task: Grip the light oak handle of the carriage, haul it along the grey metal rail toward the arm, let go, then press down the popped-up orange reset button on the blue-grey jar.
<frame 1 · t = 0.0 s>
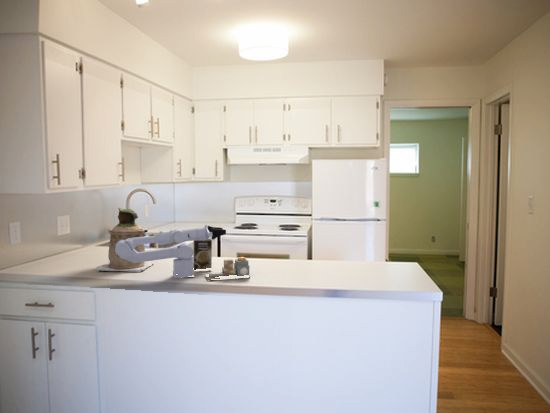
hand: (224, 230, 203), 22 cm above the countertop, tool horizontal, fingers open, 7 cm apart
blue-grey jar: (241, 276, 199), resting on rail board
cookie jar: (127, 267, 217), on the countertop
rail: (222, 277, 196), resting on rail board
carriage: (228, 266, 196), point 5 cm above the countertop, slide at 0.0 cm
coffee box: (202, 270, 212), on the countertop
rail board: (227, 277, 198), on the countertop
reset button: (241, 259, 198), point 8 cm above the countertop, slide at 0.0 cm
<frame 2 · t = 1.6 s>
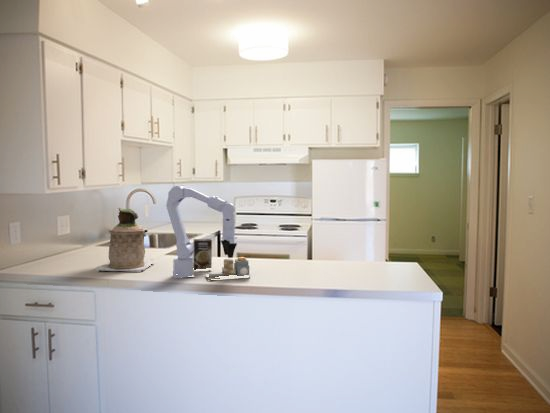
hand: (228, 256, 196), 10 cm above the countertop, tool pointing down, fingers open, 7 cm apart
nothing on the countertop moved.
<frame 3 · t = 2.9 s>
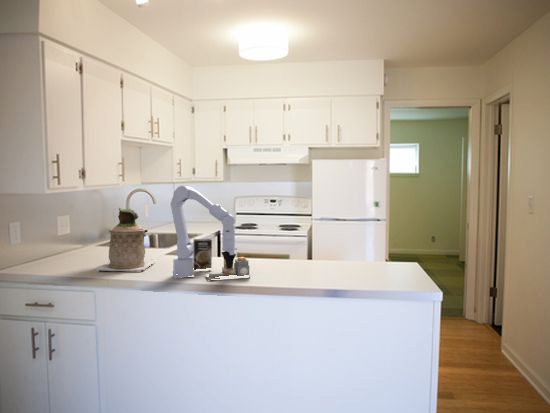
hand: (228, 267, 196), 5 cm above the countertop, tool pointing down, fingers closed on carriage, 3 cm apart
carriage: (228, 266, 196), point 5 cm above the countertop, slide at 0.0 cm, touching gripper
everything else where it was.
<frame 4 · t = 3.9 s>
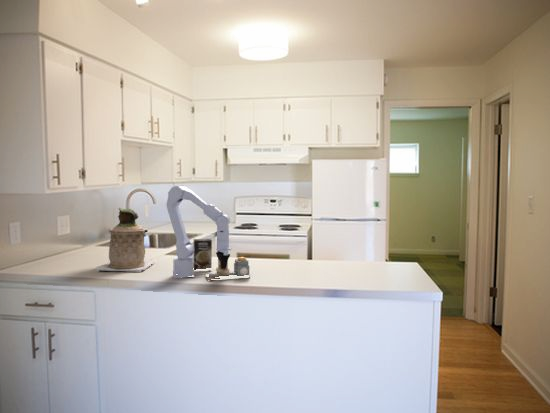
hand: (222, 267, 196), 5 cm above the countertop, tool pointing down, fingers closed on carriage, 3 cm apart
carriage: (222, 266, 196), point 5 cm above the countertop, slide at 2.8 cm, touching gripper
everything else where it was.
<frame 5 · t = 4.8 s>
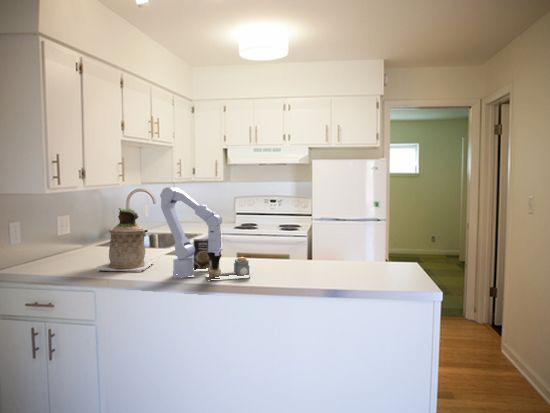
hand: (214, 268, 194), 5 cm above the countertop, tool pointing down, fingers closed on carriage, 3 cm apart
carriage: (214, 267, 194), point 5 cm above the countertop, slide at 6.8 cm, touching gripper
everything else where it was.
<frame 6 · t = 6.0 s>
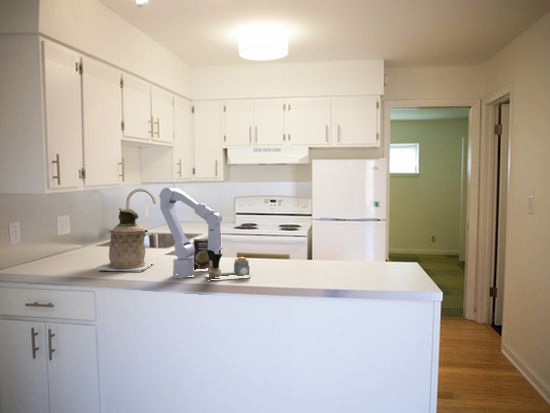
hand: (214, 266, 194), 6 cm above the countertop, tool pointing down, fingers open, 7 cm apart
carriage: (214, 267, 194), point 5 cm above the countertop, slide at 6.9 cm
everything else where it was.
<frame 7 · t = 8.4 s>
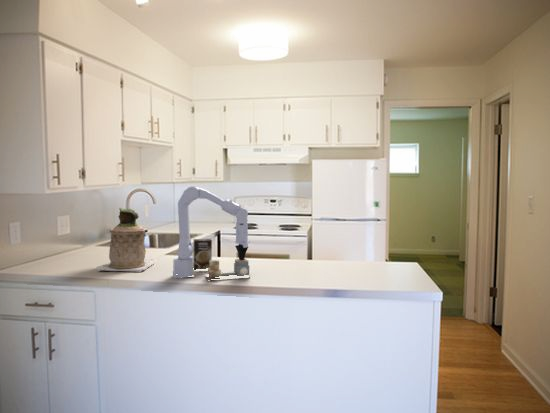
hand: (241, 260, 198), 8 cm above the countertop, tool pointing down, fingers closed, pressing on reset button
reset button: (241, 261, 198), point 7 cm above the countertop, slide at 1.1 cm, touching gripper
everything else where it was.
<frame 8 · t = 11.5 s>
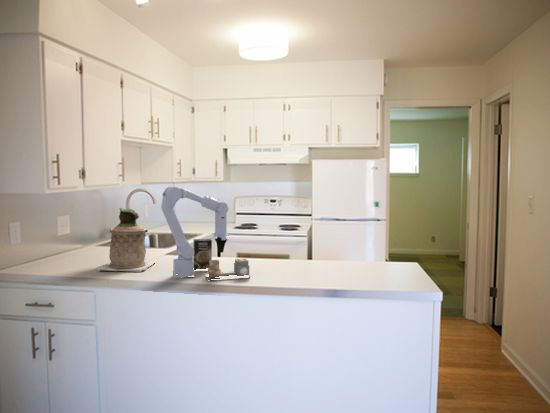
hand: (220, 252, 206), 10 cm above the countertop, tool pointing down, fingers closed
reset button: (241, 261, 198), point 7 cm above the countertop, slide at 1.1 cm
everything else where it was.
at the end: carriage slide at 6.9 cm; reset button slide at 1.1 cm; the gripper is holding nothing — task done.
